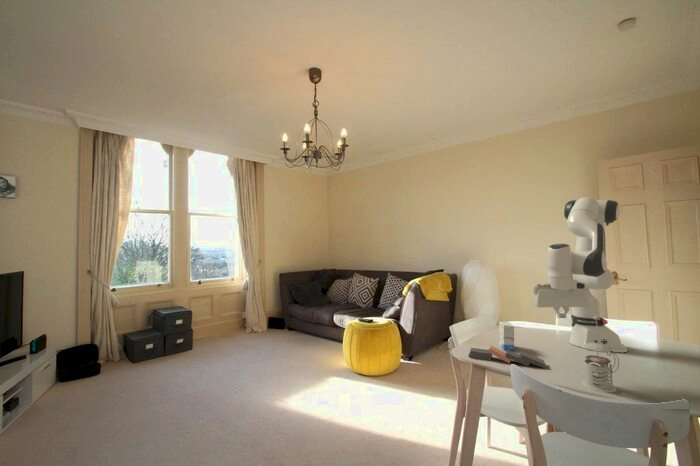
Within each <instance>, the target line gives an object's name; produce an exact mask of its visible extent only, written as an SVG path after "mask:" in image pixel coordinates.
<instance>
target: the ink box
mask: <svg viewBox="0 0 700 466" xmlns="http://www.w3.org/2000/svg"><path fill="white" fill-rule="evenodd" d="M498 323H499V326H498V327H499V328H498V329H499V330H498V331H499V333H498V334H499V336H498V337H499V342H498V344H499V346H500V347H501V349H502V350H503V351H506V350H509V351H512V352H515V326H514V325H513V324H512V323H511V322H509V321H499V322H498Z"/></svg>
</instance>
